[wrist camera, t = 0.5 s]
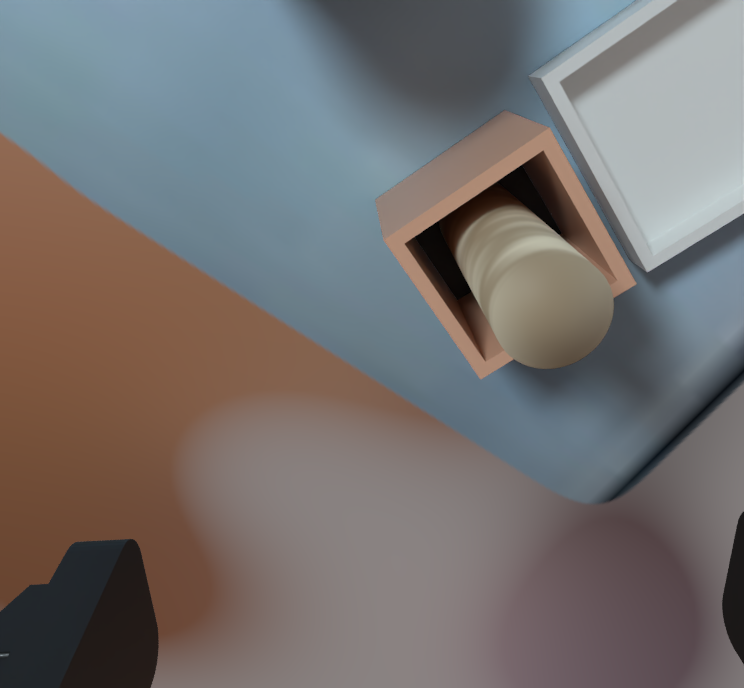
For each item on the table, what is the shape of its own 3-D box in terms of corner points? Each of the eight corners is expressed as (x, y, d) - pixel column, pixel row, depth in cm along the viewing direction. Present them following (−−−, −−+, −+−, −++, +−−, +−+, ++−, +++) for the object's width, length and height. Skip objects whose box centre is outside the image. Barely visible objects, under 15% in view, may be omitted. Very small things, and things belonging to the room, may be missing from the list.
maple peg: (491, 162, 35) (578, 230, 22) (530, 227, 36) (634, 327, 23) (424, 208, 36) (470, 300, 23) (465, 270, 37) (530, 389, 24)
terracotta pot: (504, 110, 34) (549, 127, 26) (577, 236, 36) (636, 283, 29) (375, 199, 35) (383, 240, 28) (454, 314, 38) (480, 379, 31)
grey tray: (827, -133, 30) (864, -147, 28) (903, 88, 34) (942, 91, 32) (527, 75, 33) (541, 78, 31) (629, 259, 37) (647, 272, 35)
